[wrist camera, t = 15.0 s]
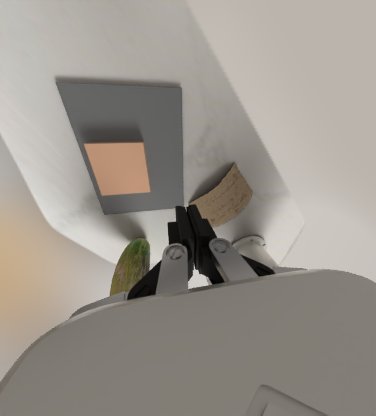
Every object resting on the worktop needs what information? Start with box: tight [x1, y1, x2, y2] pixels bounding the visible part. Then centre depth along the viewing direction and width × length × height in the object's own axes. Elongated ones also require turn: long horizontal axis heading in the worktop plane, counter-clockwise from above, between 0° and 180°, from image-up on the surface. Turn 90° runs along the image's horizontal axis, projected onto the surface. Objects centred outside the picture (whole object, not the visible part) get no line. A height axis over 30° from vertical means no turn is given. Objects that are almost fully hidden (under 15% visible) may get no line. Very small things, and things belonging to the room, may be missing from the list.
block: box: [84, 141, 151, 196], centre depth 23 cm, size 8×2×8 cm
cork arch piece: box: [189, 163, 252, 227], centre depth 31 cm, size 14×10×3 cm
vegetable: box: [110, 238, 150, 296], centre depth 25 cm, size 6×6×20 cm
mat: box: [56, 82, 184, 215], centre depth 24 cm, size 20×16×1 cm
